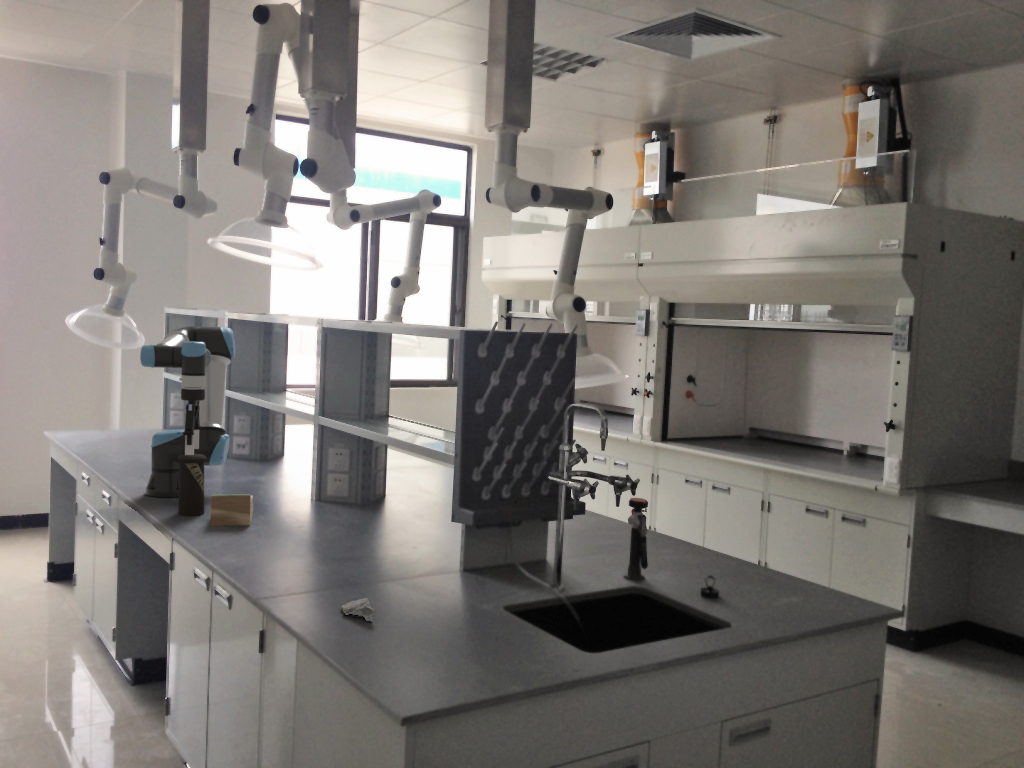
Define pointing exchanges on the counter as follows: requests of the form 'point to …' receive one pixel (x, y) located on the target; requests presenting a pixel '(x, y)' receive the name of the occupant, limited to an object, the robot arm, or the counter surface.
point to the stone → (359, 608)
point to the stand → (231, 509)
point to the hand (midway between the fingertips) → (192, 451)
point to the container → (191, 484)
